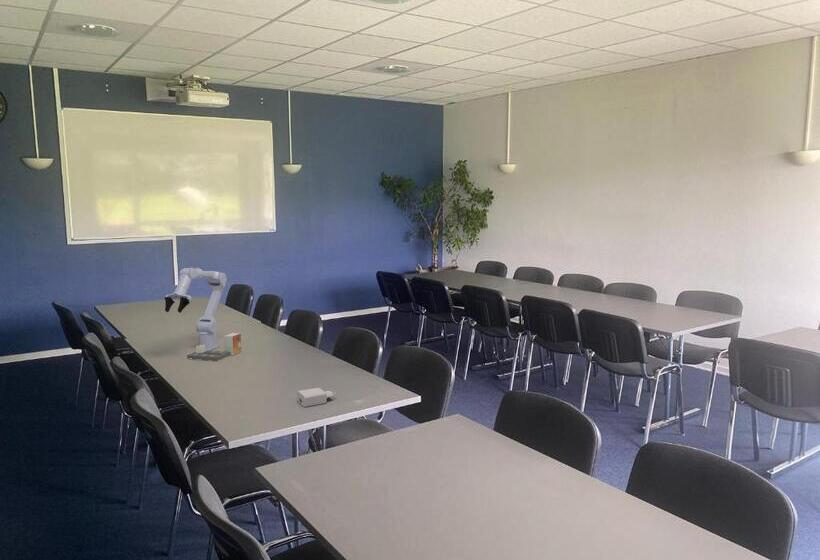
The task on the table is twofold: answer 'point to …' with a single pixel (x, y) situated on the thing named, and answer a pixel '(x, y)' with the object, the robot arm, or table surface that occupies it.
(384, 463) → the table surface
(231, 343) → the small box
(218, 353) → the panel
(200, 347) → the fader
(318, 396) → the charger
